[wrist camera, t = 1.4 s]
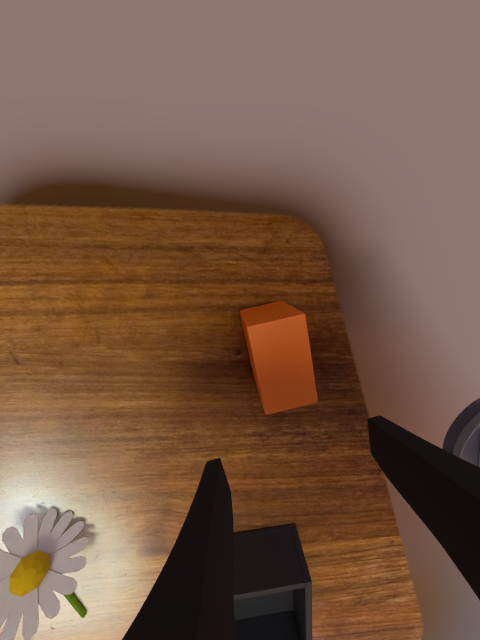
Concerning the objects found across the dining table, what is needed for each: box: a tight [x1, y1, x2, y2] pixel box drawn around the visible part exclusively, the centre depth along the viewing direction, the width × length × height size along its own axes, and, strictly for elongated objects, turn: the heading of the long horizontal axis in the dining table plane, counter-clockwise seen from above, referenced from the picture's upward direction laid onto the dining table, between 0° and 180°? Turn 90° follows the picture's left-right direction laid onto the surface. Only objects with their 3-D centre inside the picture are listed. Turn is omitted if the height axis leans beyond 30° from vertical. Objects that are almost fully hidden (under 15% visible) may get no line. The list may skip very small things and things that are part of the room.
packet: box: [239, 301, 318, 415], centre depth 16 cm, size 4×6×5 cm, turn 12°
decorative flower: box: [0, 508, 89, 640], centre depth 20 cm, size 8×6×15 cm
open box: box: [233, 524, 312, 640], centre depth 23 cm, size 9×13×4 cm
